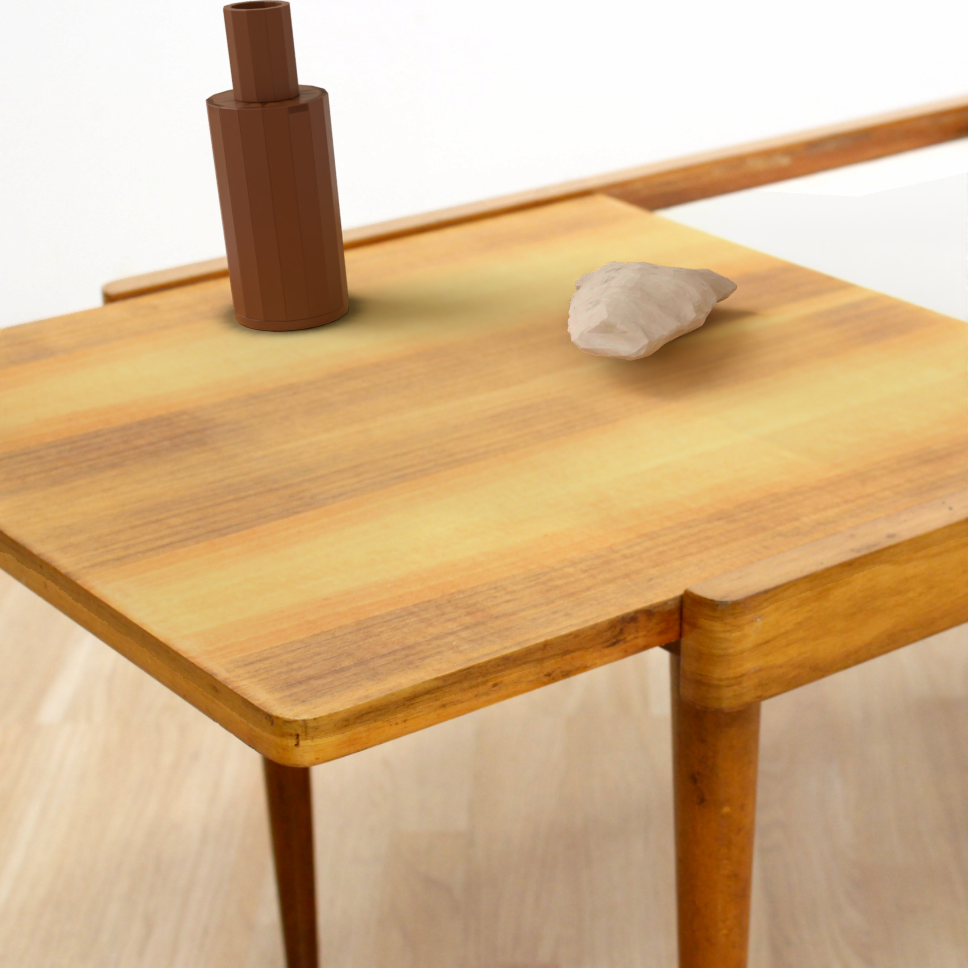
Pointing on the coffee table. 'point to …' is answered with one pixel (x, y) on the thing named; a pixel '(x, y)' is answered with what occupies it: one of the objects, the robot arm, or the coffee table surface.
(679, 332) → the decorative stone
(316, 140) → the bottle
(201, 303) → the coffee table surface
